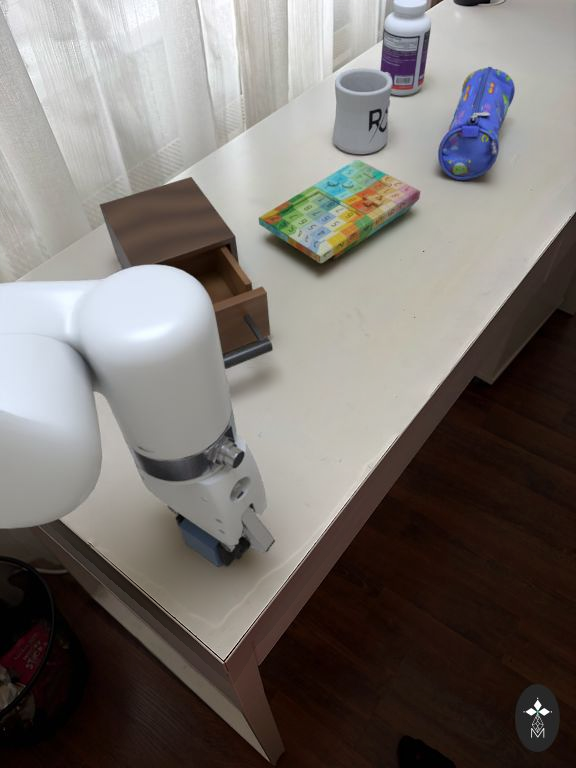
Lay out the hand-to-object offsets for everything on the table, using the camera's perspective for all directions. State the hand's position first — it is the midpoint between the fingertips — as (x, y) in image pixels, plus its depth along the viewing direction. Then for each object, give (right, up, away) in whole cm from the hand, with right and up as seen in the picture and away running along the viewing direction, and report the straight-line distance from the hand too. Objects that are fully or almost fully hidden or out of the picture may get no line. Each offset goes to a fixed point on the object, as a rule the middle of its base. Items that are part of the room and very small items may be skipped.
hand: (215, 537), depth 55 cm
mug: (+20, +56, +44) cm, 74 cm away
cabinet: (-8, +29, +24) cm, 39 cm away
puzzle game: (+14, +37, +29) cm, 49 cm away
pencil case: (+37, +53, +41) cm, 76 cm away
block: (0, 0, 0) cm, 0 cm away
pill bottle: (+28, +70, +55) cm, 93 cm away
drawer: (-2, +21, +16) cm, 26 cm away
